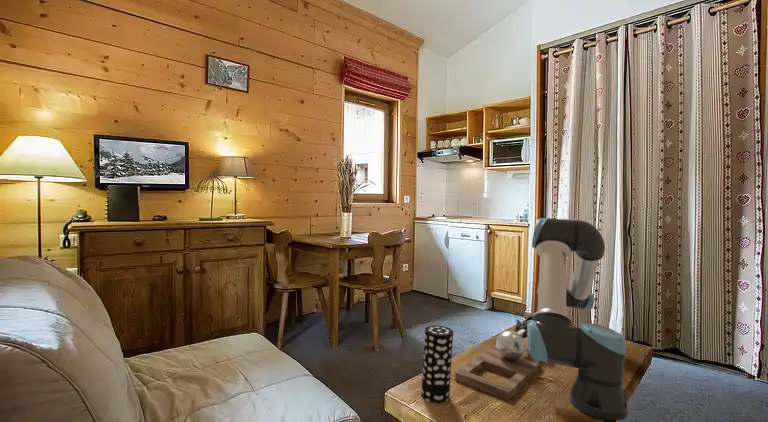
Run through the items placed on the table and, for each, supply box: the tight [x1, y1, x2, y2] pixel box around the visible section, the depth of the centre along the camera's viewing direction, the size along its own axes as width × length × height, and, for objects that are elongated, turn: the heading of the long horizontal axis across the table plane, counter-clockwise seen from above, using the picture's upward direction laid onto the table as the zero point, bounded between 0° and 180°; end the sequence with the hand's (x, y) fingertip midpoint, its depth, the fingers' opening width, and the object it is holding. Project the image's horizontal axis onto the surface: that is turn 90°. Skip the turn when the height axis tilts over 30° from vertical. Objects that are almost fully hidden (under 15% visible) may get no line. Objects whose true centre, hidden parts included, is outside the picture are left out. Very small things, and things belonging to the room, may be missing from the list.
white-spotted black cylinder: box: [420, 324, 454, 404], centre depth 114 cm, size 8×8×20 cm
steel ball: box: [495, 330, 526, 360], centre depth 138 cm, size 10×10×10 cm
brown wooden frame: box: [454, 346, 542, 401], centre depth 131 cm, size 30×18×2 cm, turn 141°
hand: (517, 337), depth 143 cm, fingers closed
